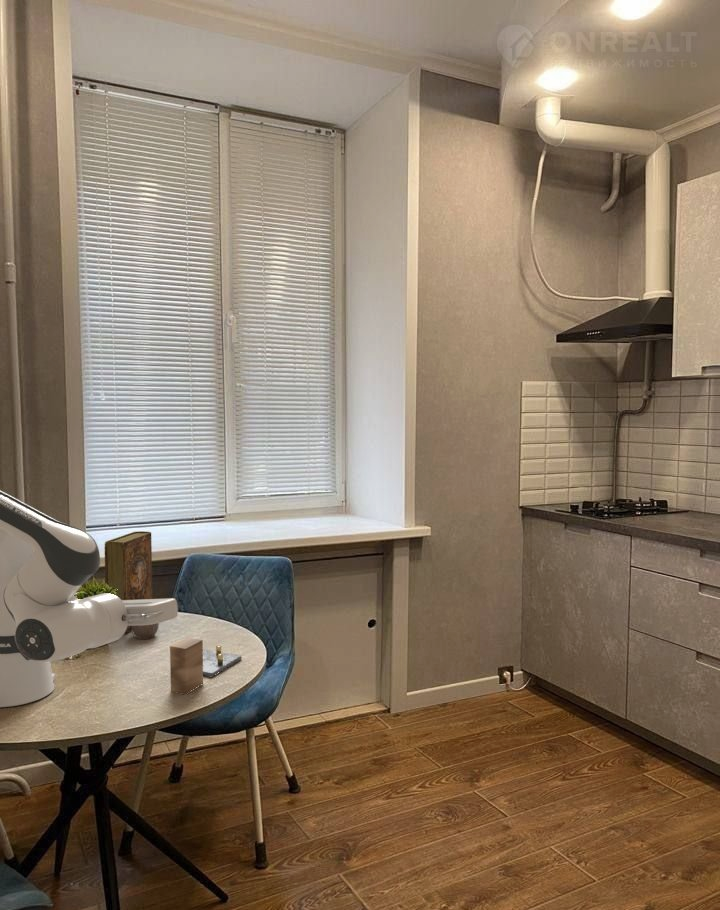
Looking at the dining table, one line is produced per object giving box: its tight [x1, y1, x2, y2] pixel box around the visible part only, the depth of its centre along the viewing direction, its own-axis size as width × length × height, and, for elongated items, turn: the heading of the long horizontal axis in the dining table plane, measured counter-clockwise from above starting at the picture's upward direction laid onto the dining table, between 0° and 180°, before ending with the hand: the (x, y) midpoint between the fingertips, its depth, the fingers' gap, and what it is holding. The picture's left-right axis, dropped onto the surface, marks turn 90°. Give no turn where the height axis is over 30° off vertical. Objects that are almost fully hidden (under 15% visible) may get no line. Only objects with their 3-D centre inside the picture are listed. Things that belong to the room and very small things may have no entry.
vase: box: [131, 623, 160, 640], centre depth 184 cm, size 7×7×9 cm
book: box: [104, 530, 153, 635], centre depth 193 cm, size 16×6×25 cm, turn 168°
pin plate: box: [203, 644, 242, 677], centre depth 164 cm, size 11×12×3 cm
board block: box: [169, 637, 204, 695], centre depth 150 cm, size 4×6×10 cm, turn 157°
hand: (151, 603), depth 137 cm, fingers open, 8 cm apart
